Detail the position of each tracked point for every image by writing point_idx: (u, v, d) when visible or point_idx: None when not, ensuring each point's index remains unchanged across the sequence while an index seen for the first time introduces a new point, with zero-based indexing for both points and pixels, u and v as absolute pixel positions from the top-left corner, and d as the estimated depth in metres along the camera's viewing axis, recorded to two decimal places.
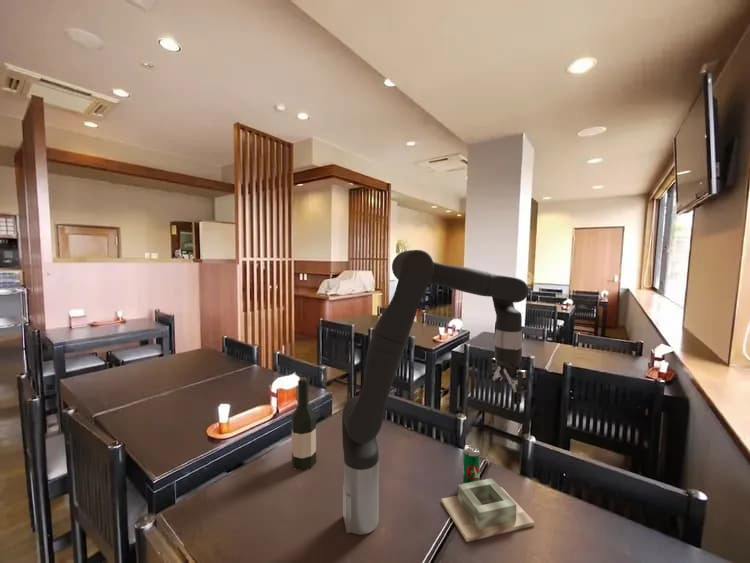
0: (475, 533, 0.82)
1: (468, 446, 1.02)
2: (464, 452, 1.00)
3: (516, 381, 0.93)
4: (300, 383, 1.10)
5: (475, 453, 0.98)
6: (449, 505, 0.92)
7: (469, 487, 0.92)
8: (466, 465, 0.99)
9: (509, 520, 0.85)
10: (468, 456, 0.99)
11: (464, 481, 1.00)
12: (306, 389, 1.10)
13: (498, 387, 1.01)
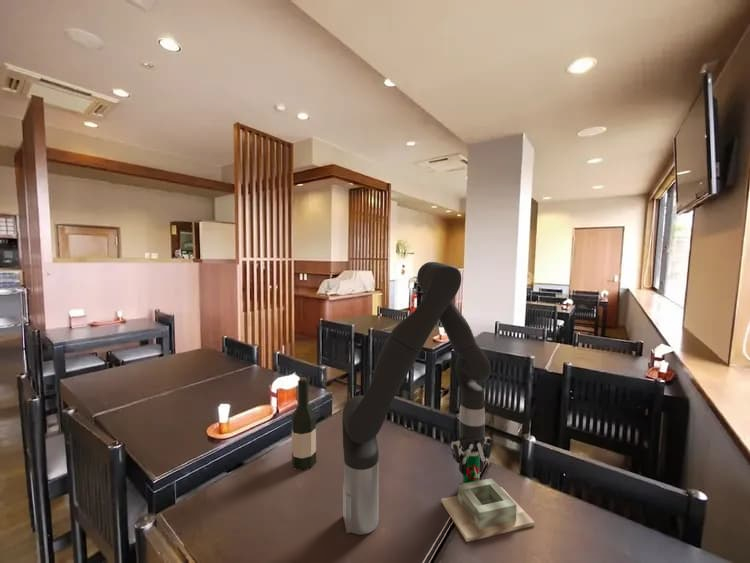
0: (475, 533, 0.82)
1: None
2: None
3: None
4: (300, 383, 1.10)
5: (475, 453, 0.98)
6: (449, 505, 0.92)
7: (469, 487, 0.92)
8: (466, 465, 0.99)
9: (509, 520, 0.85)
10: None
11: (464, 481, 1.00)
12: (306, 389, 1.10)
13: None
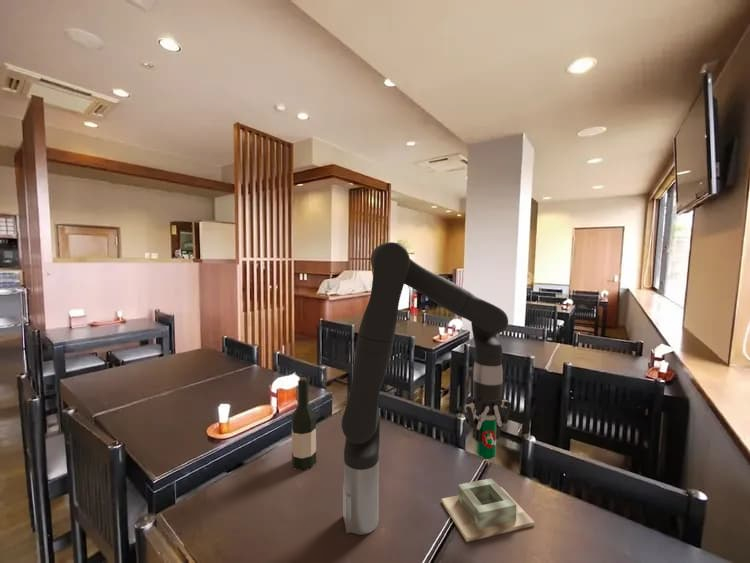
0: (475, 533, 0.82)
1: None
2: (479, 416, 0.88)
3: None
4: (300, 383, 1.10)
5: (491, 417, 0.86)
6: (449, 505, 0.92)
7: (469, 487, 0.92)
8: (481, 431, 0.87)
9: (509, 520, 0.85)
10: None
11: (479, 449, 0.88)
12: (306, 389, 1.10)
13: None
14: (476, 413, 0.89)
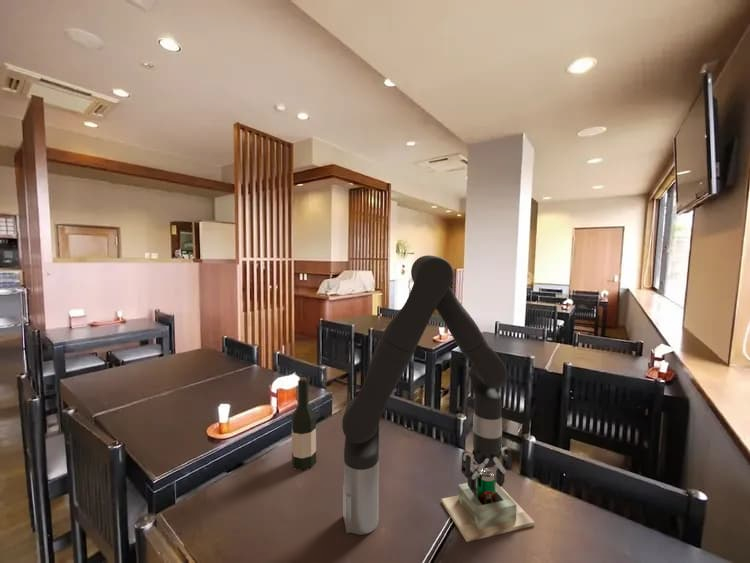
0: (475, 533, 0.82)
1: None
2: (478, 476, 0.89)
3: None
4: (300, 383, 1.10)
5: (490, 478, 0.87)
6: (449, 505, 0.92)
7: None
8: (480, 491, 0.88)
9: (509, 520, 0.85)
10: (482, 481, 0.87)
11: None
12: (306, 389, 1.10)
13: None
14: (473, 462, 0.89)
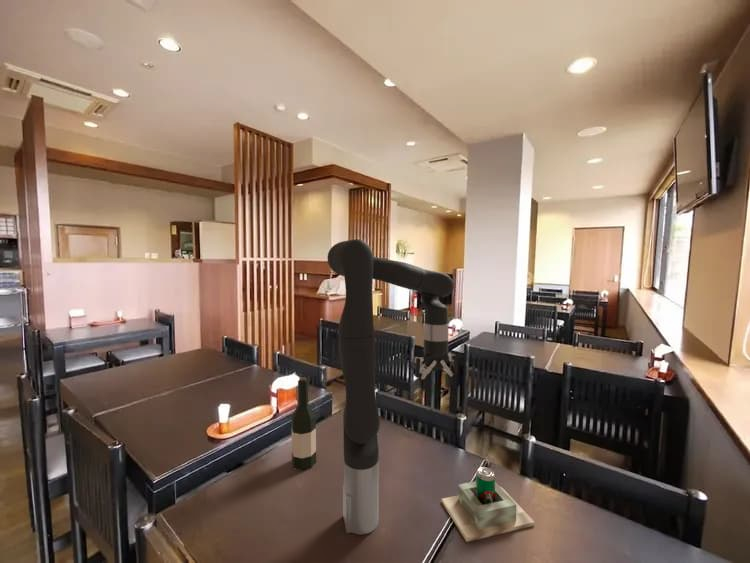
0: (475, 533, 0.82)
1: (482, 469, 0.91)
2: (477, 476, 0.89)
3: None
4: (300, 383, 1.10)
5: (490, 478, 0.87)
6: (449, 505, 0.92)
7: (469, 487, 0.92)
8: (480, 491, 0.88)
9: (509, 520, 0.85)
10: (482, 481, 0.87)
11: None
12: (306, 389, 1.10)
13: None
14: (424, 367, 1.02)
